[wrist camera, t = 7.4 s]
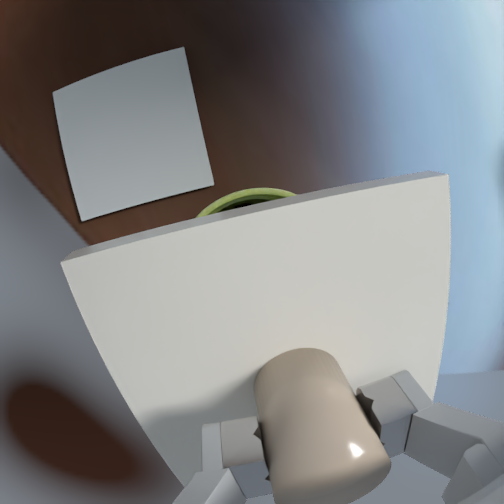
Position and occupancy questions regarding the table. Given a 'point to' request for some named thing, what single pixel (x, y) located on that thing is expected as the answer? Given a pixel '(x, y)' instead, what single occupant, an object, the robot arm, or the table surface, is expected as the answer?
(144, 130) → the mat
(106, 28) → the table surface
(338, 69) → the table surface
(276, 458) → the lid
